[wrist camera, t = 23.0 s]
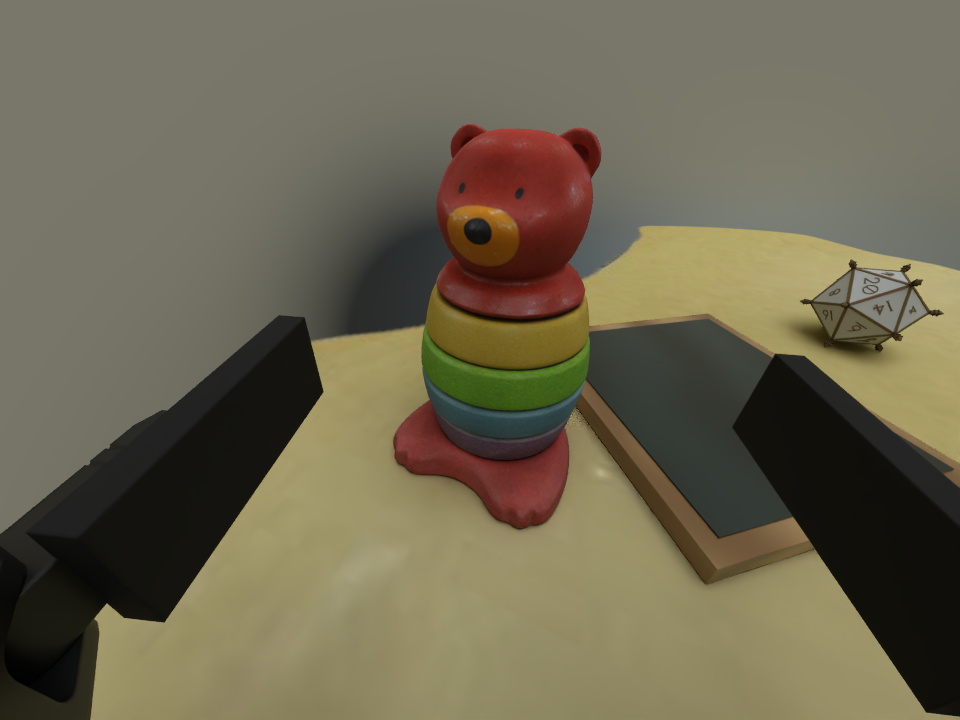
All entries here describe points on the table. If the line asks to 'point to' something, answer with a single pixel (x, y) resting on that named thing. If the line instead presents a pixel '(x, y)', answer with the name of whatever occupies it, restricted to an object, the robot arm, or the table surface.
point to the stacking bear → (506, 319)
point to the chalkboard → (697, 437)
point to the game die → (869, 306)
